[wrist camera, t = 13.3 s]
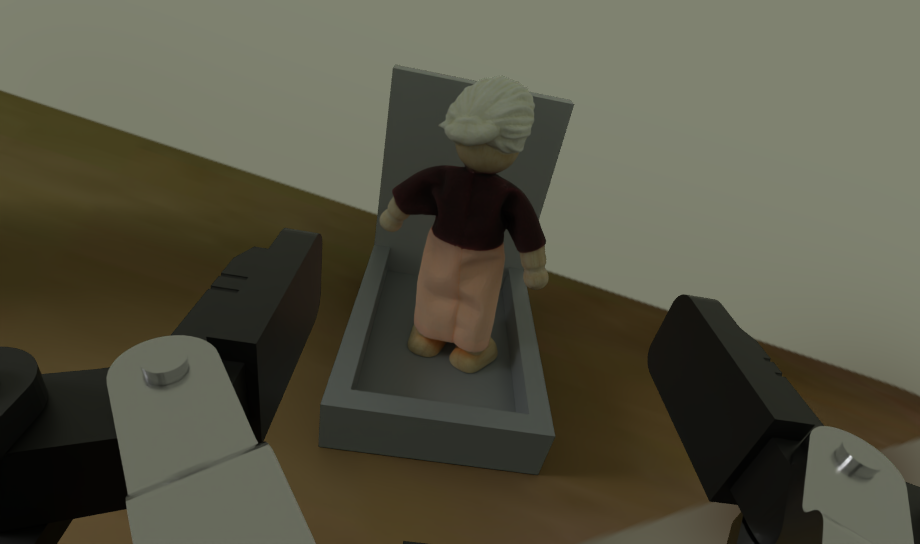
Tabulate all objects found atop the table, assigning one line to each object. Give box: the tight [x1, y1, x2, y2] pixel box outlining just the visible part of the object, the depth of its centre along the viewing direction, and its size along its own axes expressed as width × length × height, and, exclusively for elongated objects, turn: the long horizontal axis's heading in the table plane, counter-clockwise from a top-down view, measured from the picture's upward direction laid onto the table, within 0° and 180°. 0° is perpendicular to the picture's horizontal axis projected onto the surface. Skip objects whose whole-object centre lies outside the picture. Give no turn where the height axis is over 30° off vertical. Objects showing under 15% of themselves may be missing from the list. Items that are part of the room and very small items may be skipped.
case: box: [319, 65, 574, 475], centre depth 21 cm, size 9×13×12 cm
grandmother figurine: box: [379, 76, 548, 373], centre depth 20 cm, size 8×4×13 cm, turn 80°
